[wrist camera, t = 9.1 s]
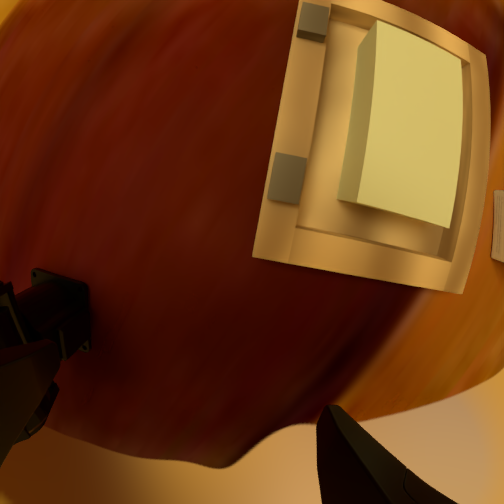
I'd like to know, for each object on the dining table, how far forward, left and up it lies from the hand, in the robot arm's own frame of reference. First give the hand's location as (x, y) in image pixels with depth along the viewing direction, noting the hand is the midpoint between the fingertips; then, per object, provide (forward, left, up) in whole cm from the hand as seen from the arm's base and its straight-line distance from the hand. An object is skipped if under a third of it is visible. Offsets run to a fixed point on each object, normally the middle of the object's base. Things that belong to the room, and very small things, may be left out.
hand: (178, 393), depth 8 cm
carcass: (+9, +12, -12) cm, 19 cm away
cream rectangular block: (+9, +12, -11) cm, 18 cm away
